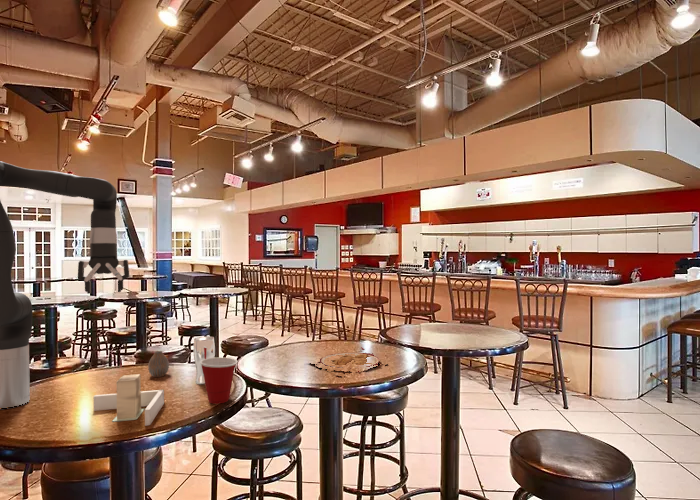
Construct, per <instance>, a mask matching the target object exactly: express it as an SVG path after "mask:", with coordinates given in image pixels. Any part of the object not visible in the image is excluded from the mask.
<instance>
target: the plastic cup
mask: <svg viewBox="0 0 700 500" xmlns="http://www.w3.org/2000/svg"><path fill="white" fill-rule="evenodd" d="M238 362H239V361H238V360H237V359H235V358H231V357H220V356H219V357H214V358H208V359H204V360H201V361H200V364H201V365H202V369H203V374H204V380H205V384H204V385H205V390H206V394H207V400H208V402H209V404H212V405H215V404H216V405H217V404H218V405H219V404H225V403H226V402H228V401H229V400H230V396H231V390H232V385H233V380H234V372H235V369H236V366H237V364H238Z"/></svg>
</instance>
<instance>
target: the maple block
mask: <svg viewBox="0 0 700 500" xmlns="http://www.w3.org/2000/svg"><path fill="white" fill-rule="evenodd" d="M141 379H142V378H141V374H140V373H138V374H137V373H136V374H127V375H125V374H123V375H122V376H121V377H120V378H119V379H118V380H116V383H115V385H116V393H117V409H116V416H117V419H126V418H135V417H136V416H137V415H138V413H139V412H140V410H141V409H142V406H141V387H142V386H141V385H142V384H141Z"/></svg>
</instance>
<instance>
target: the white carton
mask: <svg viewBox="0 0 700 500" xmlns="http://www.w3.org/2000/svg"><path fill="white" fill-rule="evenodd" d="M192 352H193V359H194V365H195V370H196V372H195V373H196V374H195V376H196V377H195V384H196V385H201V386H202V385H205V380H204V374H203V369H202V365H201V364H200V361H201V360H204V359H208V358H215V355H216V346H215V337H214V336H210V335H209V336H206V335H205V336H198V337H195V338H193V351H192Z"/></svg>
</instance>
